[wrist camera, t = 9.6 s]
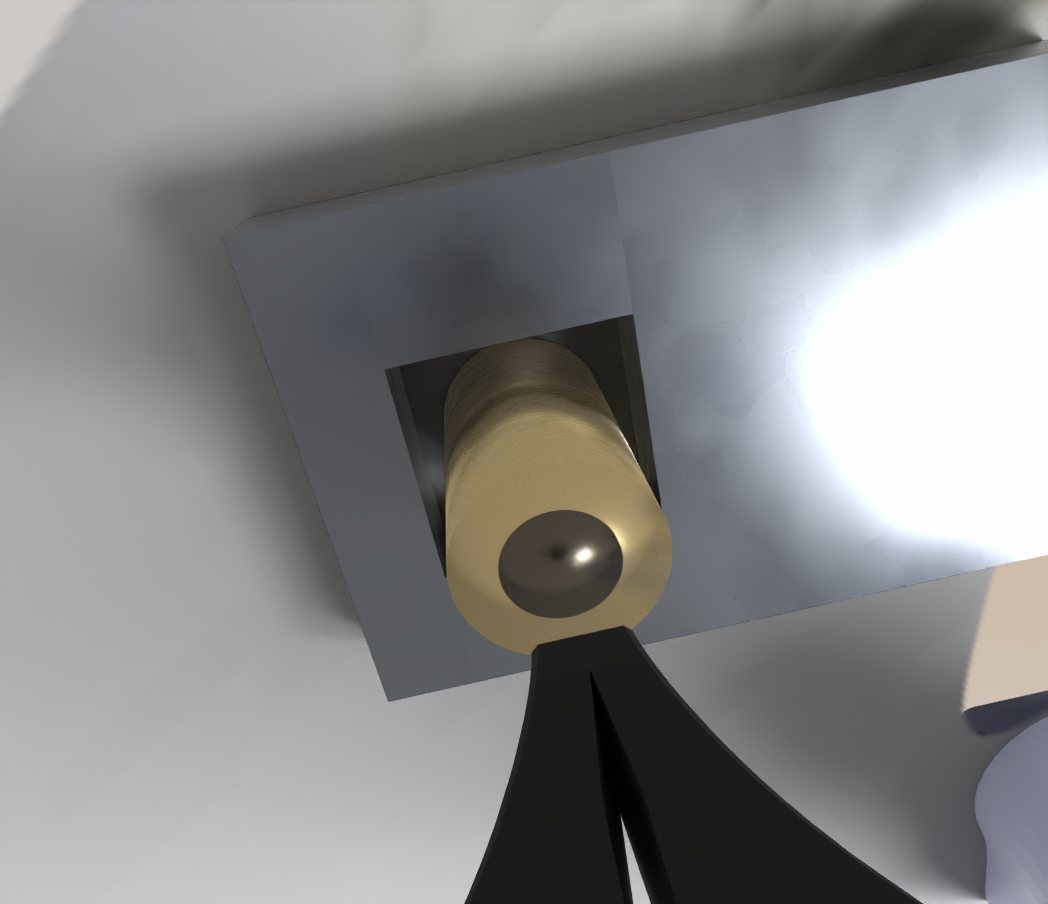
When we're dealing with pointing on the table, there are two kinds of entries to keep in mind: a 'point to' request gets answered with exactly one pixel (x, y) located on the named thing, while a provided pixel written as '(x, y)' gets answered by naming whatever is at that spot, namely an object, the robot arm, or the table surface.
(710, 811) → the robot arm
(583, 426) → the brass bushing
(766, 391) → the plate
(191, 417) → the table surface
